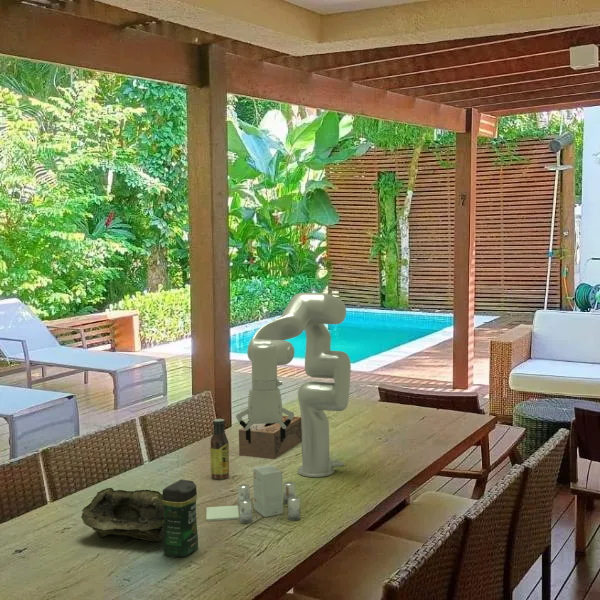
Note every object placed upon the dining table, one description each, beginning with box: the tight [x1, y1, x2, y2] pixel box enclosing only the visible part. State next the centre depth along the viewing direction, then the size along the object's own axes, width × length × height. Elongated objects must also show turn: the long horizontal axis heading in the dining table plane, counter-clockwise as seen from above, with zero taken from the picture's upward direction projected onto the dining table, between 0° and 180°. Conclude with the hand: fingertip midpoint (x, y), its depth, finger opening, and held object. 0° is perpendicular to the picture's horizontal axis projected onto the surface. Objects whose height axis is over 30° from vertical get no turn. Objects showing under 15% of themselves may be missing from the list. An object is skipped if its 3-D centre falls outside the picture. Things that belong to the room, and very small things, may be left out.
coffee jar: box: [161, 479, 199, 558], centre depth 217 cm, size 10×8×19 cm
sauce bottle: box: [209, 418, 230, 480], centre depth 279 cm, size 7×6×20 cm
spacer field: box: [237, 481, 301, 524], centre depth 246 cm, size 18×18×6 cm
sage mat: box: [205, 505, 240, 522], centre depth 244 cm, size 10×10×1 cm
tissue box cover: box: [238, 415, 302, 460], centre depth 314 cm, size 26×14×10 cm, turn 156°
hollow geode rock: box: [81, 487, 164, 543], centre depth 228 cm, size 28×13×15 cm
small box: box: [252, 464, 284, 518], centre depth 245 cm, size 8×6×13 cm
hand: (265, 441), depth 245 cm, fingers open, 9 cm apart
